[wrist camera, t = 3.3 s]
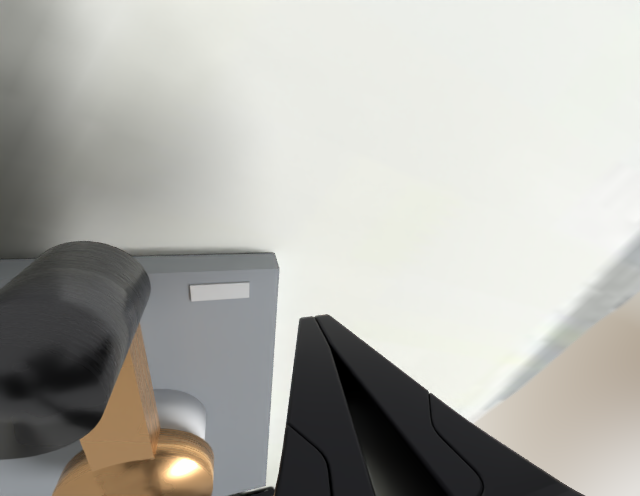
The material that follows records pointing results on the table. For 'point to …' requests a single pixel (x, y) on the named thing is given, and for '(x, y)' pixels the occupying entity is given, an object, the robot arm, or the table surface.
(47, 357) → the crank handle
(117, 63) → the table surface
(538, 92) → the table surface
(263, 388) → the base
